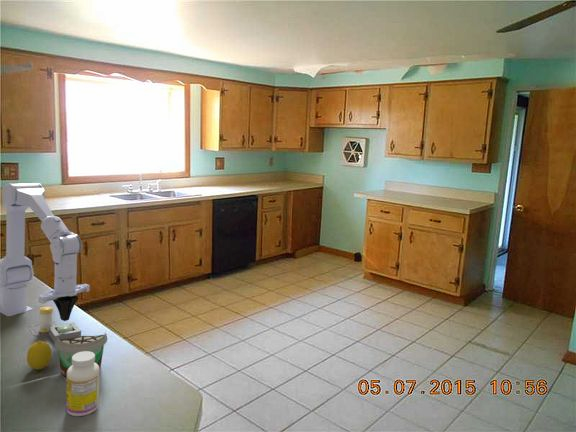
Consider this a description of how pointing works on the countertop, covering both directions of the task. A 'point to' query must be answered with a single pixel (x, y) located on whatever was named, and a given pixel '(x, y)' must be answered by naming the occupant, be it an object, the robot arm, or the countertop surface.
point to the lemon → (39, 355)
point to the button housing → (66, 335)
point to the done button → (64, 328)
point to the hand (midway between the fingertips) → (64, 319)
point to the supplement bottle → (82, 384)
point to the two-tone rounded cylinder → (46, 319)
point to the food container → (79, 349)
